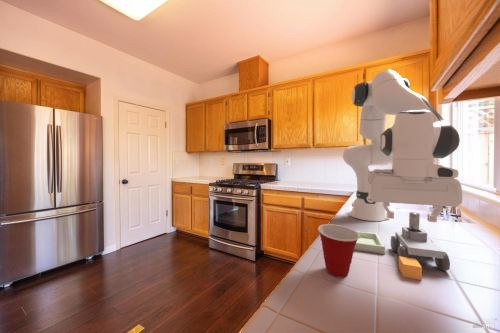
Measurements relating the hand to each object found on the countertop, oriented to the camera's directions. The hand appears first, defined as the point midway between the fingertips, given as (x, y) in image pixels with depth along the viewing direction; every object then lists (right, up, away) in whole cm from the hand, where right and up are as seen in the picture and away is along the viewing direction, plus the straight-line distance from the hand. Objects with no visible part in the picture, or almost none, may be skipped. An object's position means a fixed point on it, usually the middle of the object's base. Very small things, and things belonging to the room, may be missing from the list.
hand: (410, 219), depth 57 cm
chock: (0, -15, 0) cm, 15 cm away
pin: (+9, -9, +10) cm, 16 cm away
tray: (-2, -14, +20) cm, 24 cm away
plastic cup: (-20, -15, +1) cm, 25 cm away
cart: (+8, -15, +8) cm, 19 cm away
